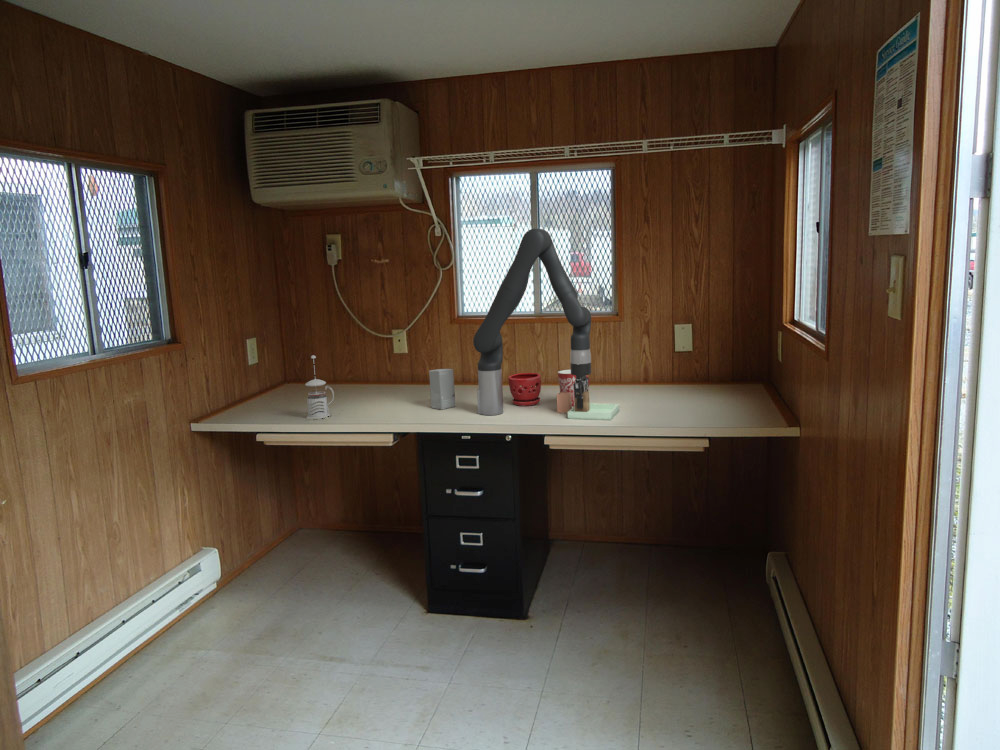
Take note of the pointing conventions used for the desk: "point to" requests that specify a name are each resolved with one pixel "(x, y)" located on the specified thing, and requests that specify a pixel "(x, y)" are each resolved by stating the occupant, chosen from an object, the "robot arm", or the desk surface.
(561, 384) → the mug
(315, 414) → the french press
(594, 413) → the tray
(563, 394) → the terracotta block
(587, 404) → the walnut block
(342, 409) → the desk surface
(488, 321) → the robot arm
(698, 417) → the desk surface
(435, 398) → the skincare box
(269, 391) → the desk surface
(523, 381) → the plant pot
